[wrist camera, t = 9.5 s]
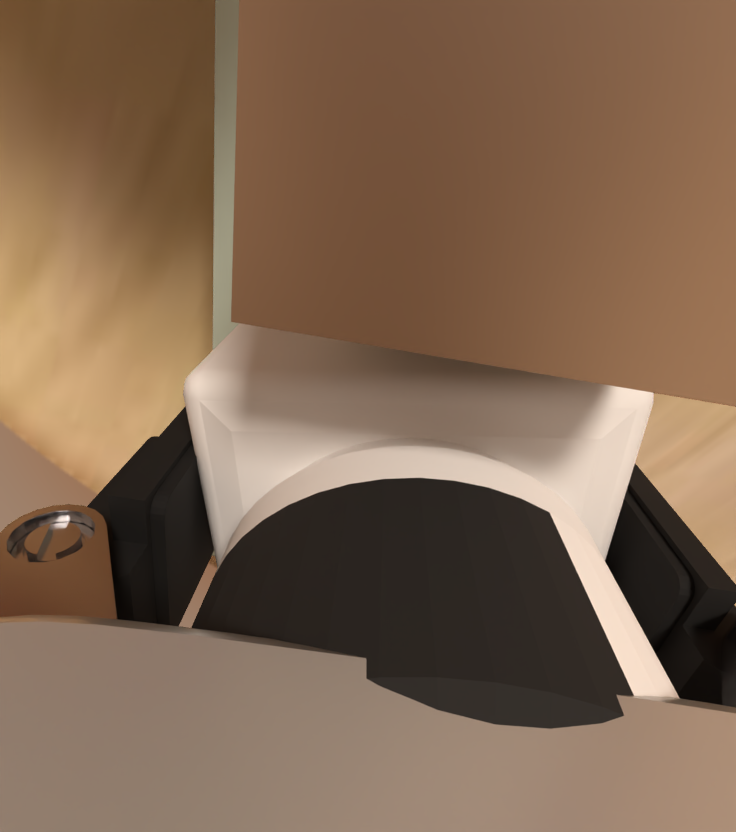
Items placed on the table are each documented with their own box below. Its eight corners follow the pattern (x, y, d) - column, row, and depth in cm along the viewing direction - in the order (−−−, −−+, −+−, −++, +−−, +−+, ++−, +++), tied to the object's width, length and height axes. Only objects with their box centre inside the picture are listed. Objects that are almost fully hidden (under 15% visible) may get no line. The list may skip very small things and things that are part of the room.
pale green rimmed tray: (675, 7, 14) (812, -72, 9) (487, 533, 23) (509, 620, 18) (263, -74, 13) (198, -196, 9) (239, 494, 22) (202, 573, 18)
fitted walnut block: (566, 16, 12) (1648, -946, 2) (500, 253, 15) (757, 452, 4) (377, -20, 12) (273, -1331, 2) (345, 226, 15) (229, 364, 4)
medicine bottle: (294, 487, 17) (118, 1058, 6) (276, 278, 13) (-195, 715, 3) (501, 492, 16) (708, 1103, 6) (534, 280, 13) (1189, 783, 2)
